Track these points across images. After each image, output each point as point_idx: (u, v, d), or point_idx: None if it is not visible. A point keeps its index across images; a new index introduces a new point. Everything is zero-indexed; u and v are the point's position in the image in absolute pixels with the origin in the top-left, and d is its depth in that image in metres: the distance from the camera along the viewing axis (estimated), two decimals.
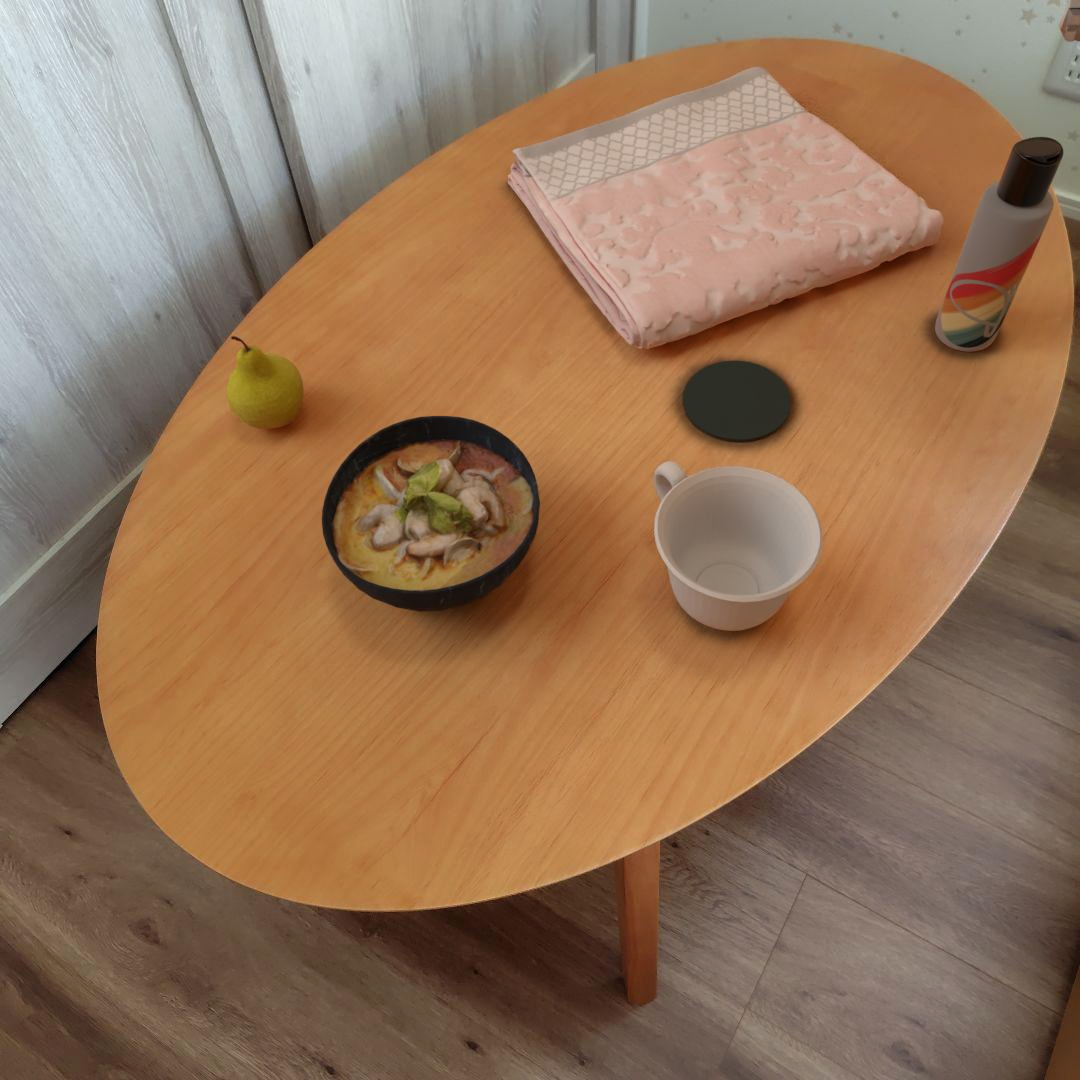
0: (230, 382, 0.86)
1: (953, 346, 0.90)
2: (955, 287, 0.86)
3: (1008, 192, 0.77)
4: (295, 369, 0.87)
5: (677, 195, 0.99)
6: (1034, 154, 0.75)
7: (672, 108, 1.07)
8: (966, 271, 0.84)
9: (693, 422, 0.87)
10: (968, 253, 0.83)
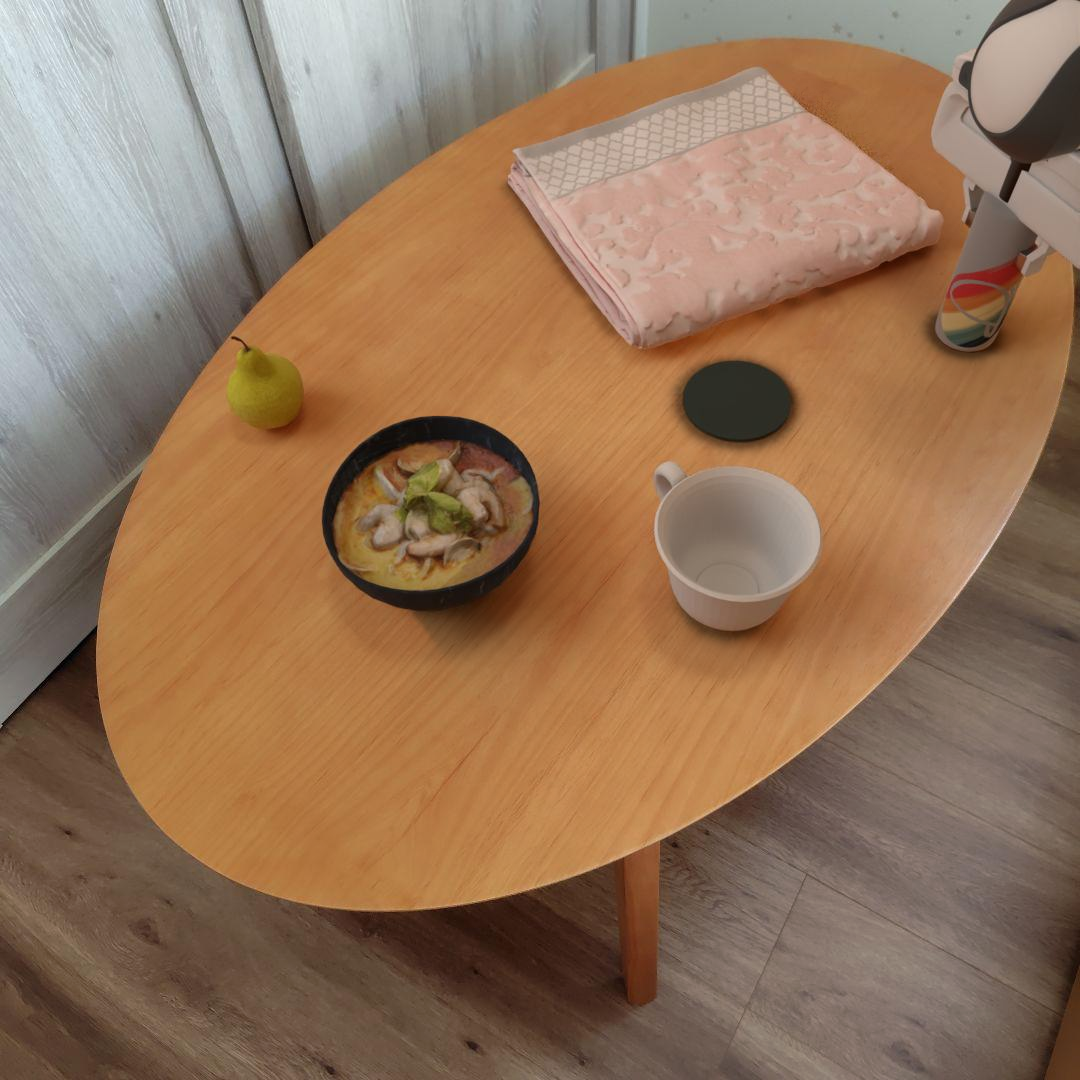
0: (230, 382, 0.86)
1: (953, 346, 0.90)
2: (955, 287, 0.86)
3: (1008, 192, 0.77)
4: (295, 369, 0.87)
5: (677, 195, 0.99)
6: None
7: (672, 108, 1.07)
8: (966, 271, 0.84)
9: (693, 422, 0.87)
10: (968, 253, 0.83)
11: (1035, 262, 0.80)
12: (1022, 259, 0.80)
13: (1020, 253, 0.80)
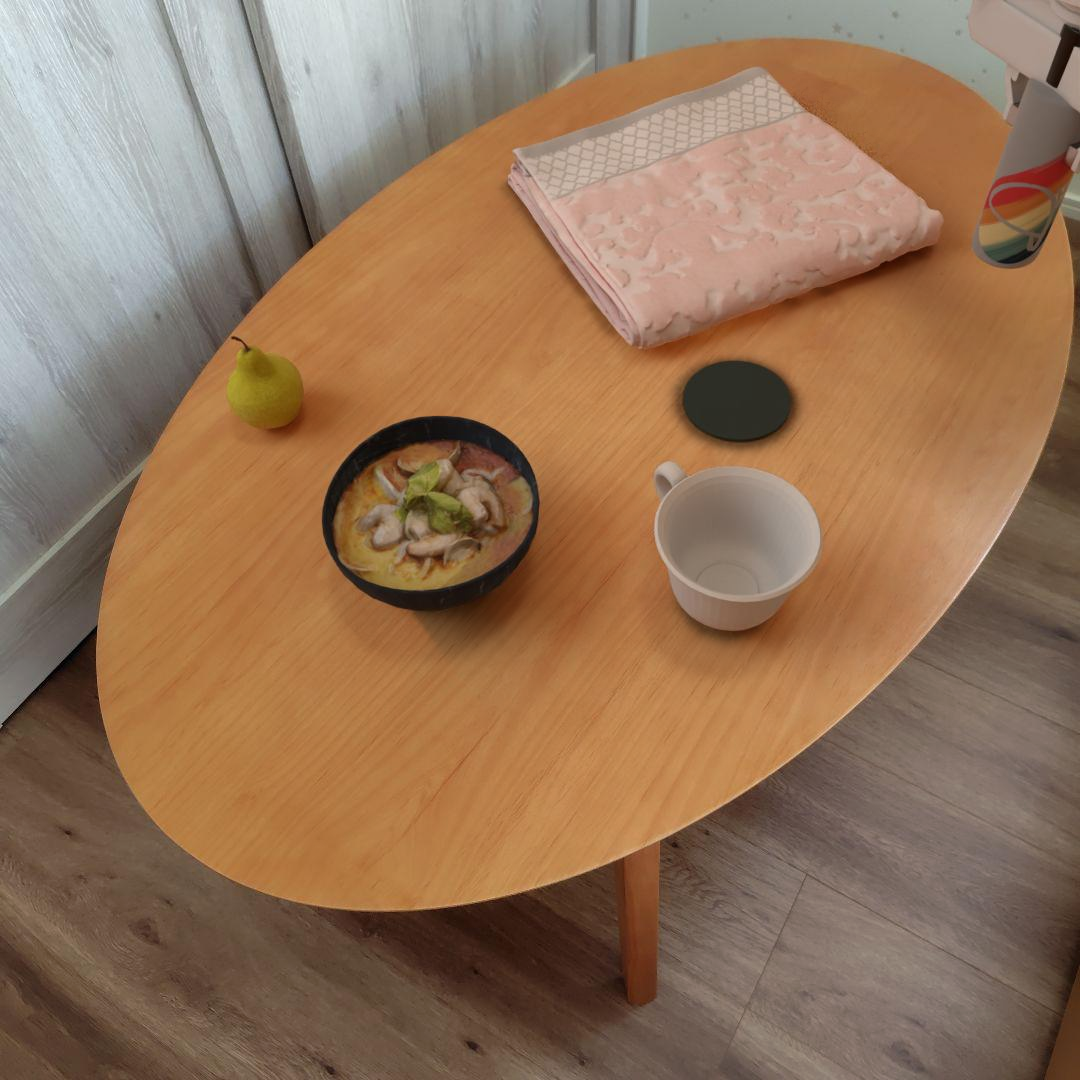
0: (230, 382, 0.86)
1: (992, 263, 0.82)
2: (995, 194, 0.78)
3: (1058, 75, 0.69)
4: (295, 369, 0.87)
5: (677, 195, 0.99)
6: None
7: (672, 108, 1.07)
8: (1008, 173, 0.76)
9: (693, 422, 0.87)
10: (1011, 152, 0.75)
11: None
12: (1072, 153, 0.72)
13: (1070, 146, 0.72)
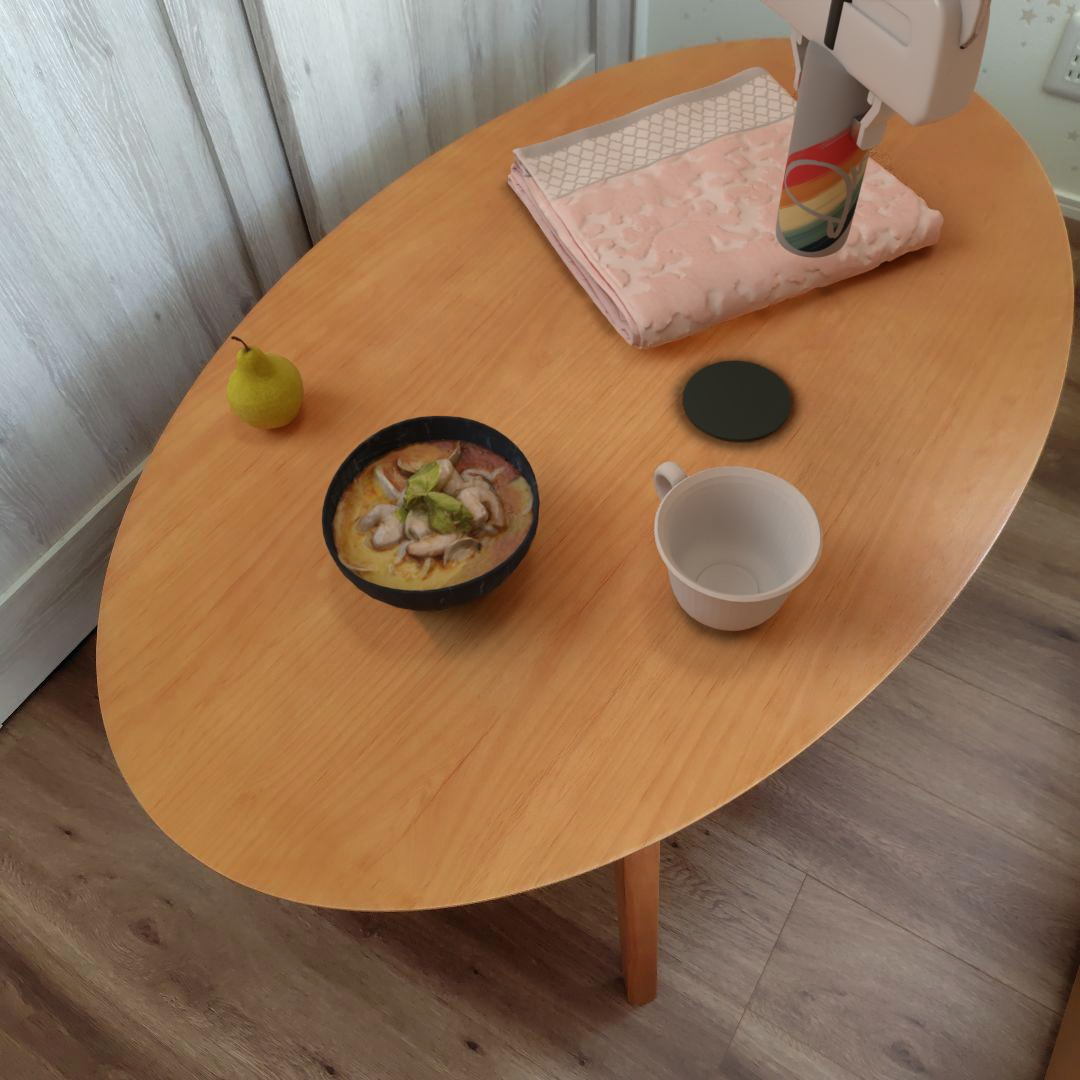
0: (230, 382, 0.86)
1: (794, 251, 0.73)
2: (788, 172, 0.69)
3: (833, 35, 0.61)
4: (295, 369, 0.87)
5: (677, 195, 0.99)
6: None
7: (672, 108, 1.07)
8: (797, 149, 0.67)
9: (693, 422, 0.87)
10: (797, 124, 0.66)
11: (872, 129, 0.63)
12: (856, 126, 0.63)
13: (854, 119, 0.63)
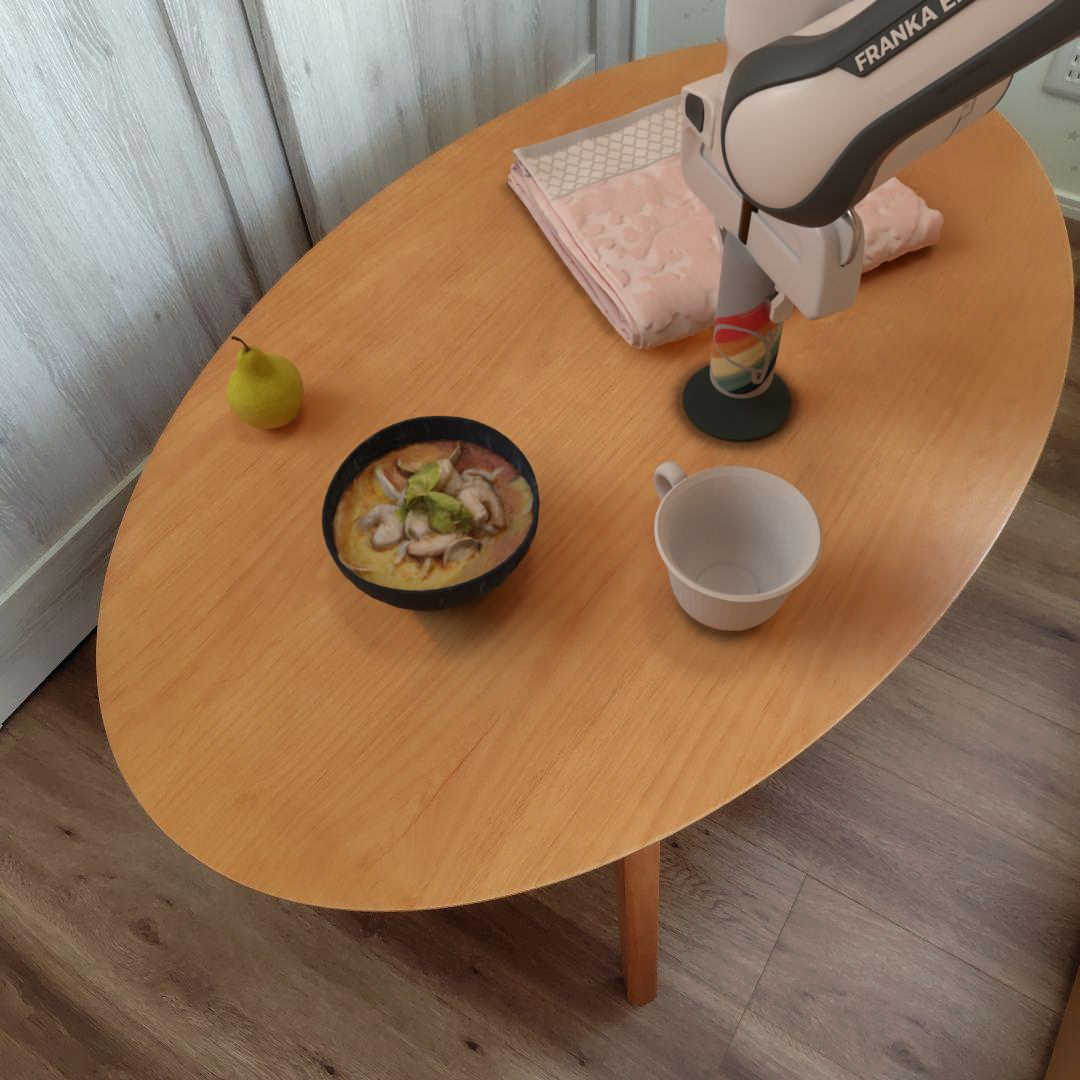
0: (230, 382, 0.86)
1: (725, 392, 0.84)
2: (716, 331, 0.80)
3: (744, 234, 0.71)
4: (295, 369, 0.87)
5: (677, 195, 0.99)
6: None
7: (672, 108, 1.07)
8: (721, 315, 0.78)
9: (693, 422, 0.87)
10: (720, 296, 0.77)
11: (781, 308, 0.74)
12: (768, 305, 0.74)
13: (766, 298, 0.74)
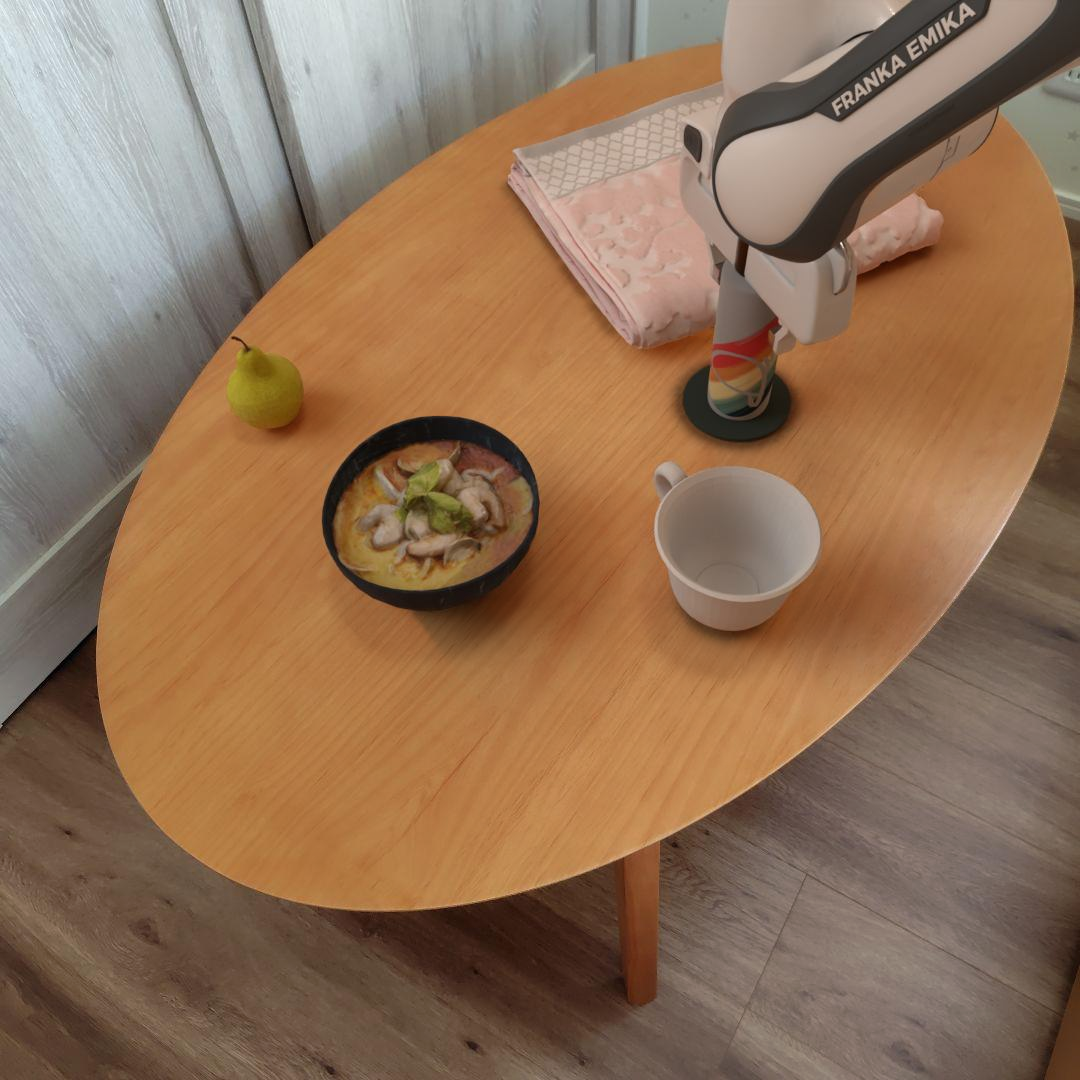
0: (230, 382, 0.86)
1: (722, 415, 0.86)
2: (714, 356, 0.83)
3: (741, 265, 0.74)
4: (295, 369, 0.87)
5: (677, 195, 0.99)
6: None
7: (672, 108, 1.07)
8: (719, 342, 0.80)
9: (693, 422, 0.87)
10: (718, 324, 0.79)
11: (784, 341, 0.75)
12: (772, 337, 0.76)
13: (770, 331, 0.76)
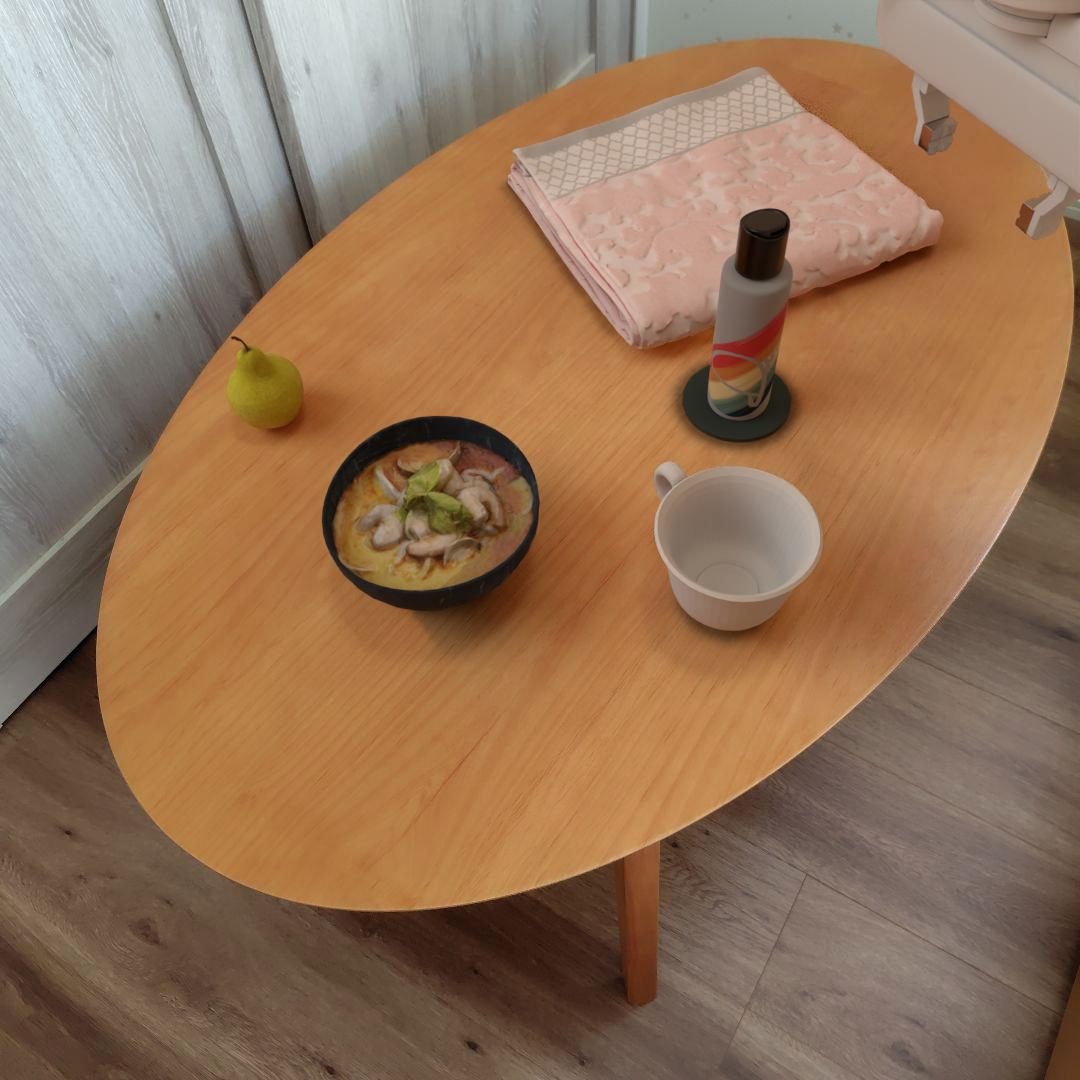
0: (230, 382, 0.86)
1: (722, 415, 0.86)
2: (714, 356, 0.83)
3: (741, 265, 0.74)
4: (295, 369, 0.87)
5: (677, 195, 0.99)
6: (758, 228, 0.71)
7: (672, 108, 1.07)
8: (719, 342, 0.80)
9: (693, 422, 0.87)
10: (718, 324, 0.79)
11: (1048, 217, 0.52)
12: (1028, 213, 0.52)
13: (1024, 204, 0.52)
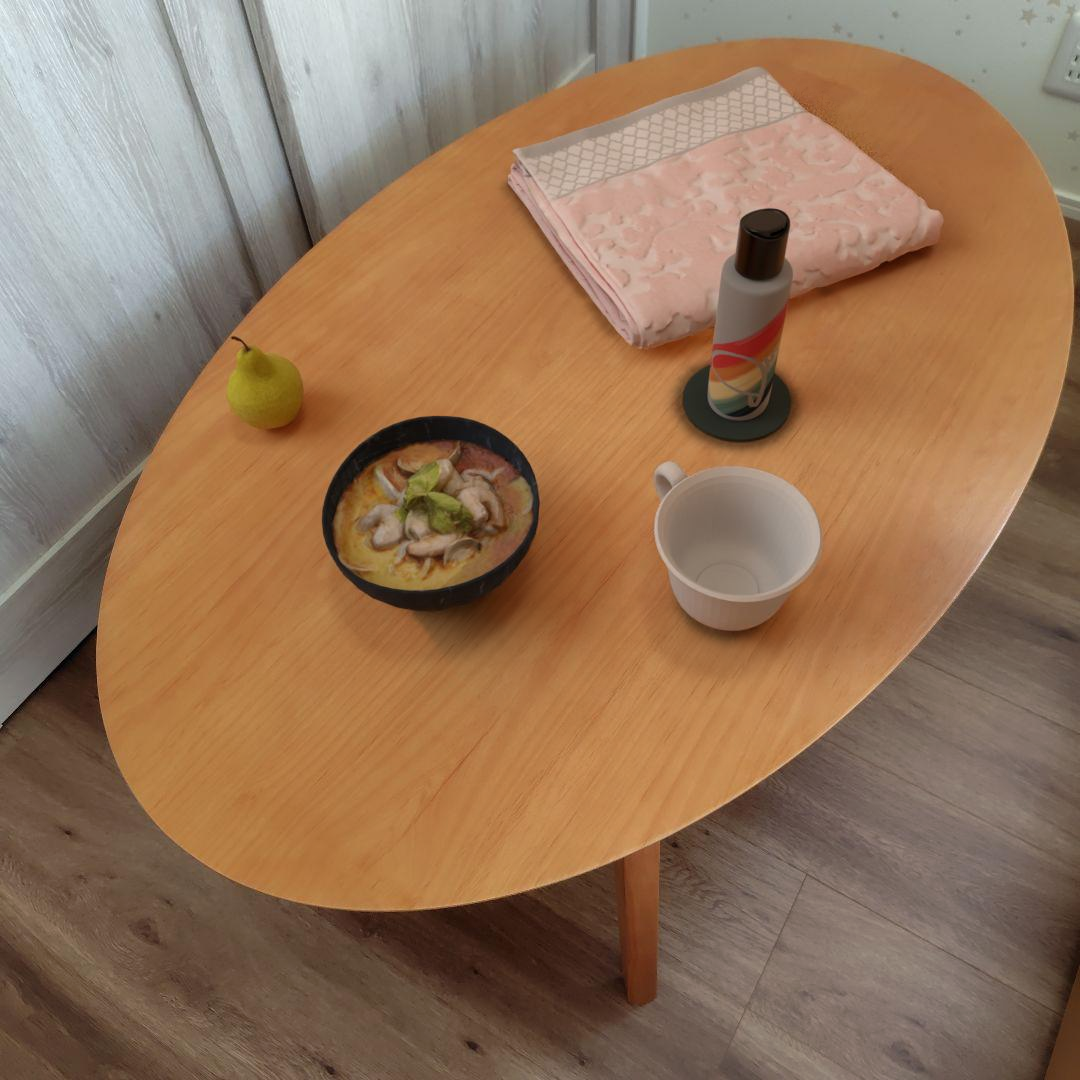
0: (230, 382, 0.86)
1: (722, 415, 0.86)
2: (714, 356, 0.83)
3: (741, 265, 0.74)
4: (295, 369, 0.87)
5: (677, 195, 0.99)
6: (758, 228, 0.71)
7: (672, 108, 1.07)
8: (719, 342, 0.80)
9: (693, 422, 0.87)
10: (718, 324, 0.79)
11: None
12: None
13: None
